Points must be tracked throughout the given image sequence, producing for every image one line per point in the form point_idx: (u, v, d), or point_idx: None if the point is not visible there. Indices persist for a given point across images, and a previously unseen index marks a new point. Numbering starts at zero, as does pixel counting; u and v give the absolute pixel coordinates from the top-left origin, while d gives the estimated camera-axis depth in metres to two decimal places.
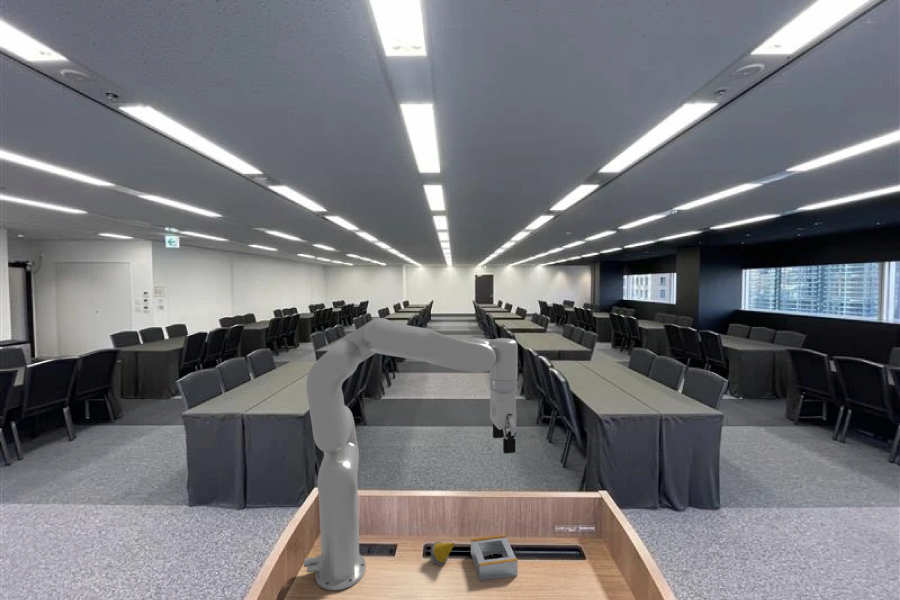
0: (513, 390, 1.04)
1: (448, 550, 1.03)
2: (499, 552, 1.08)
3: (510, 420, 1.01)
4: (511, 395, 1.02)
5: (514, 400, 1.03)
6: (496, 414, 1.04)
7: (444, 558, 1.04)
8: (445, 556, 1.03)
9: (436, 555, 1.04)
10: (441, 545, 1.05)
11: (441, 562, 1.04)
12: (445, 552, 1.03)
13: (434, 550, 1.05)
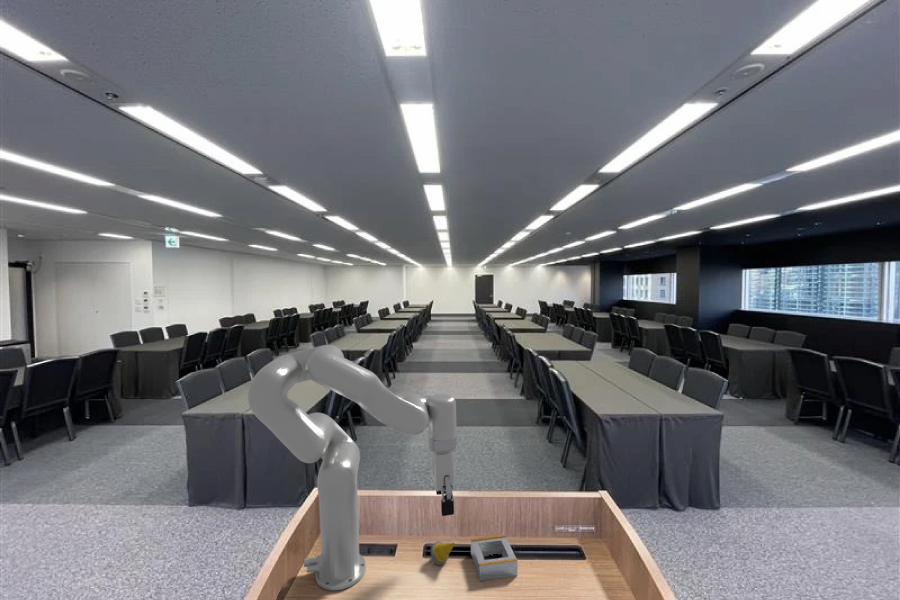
0: (451, 450, 1.01)
1: (448, 550, 1.03)
2: (499, 552, 1.08)
3: (446, 483, 0.98)
4: (448, 456, 1.00)
5: (452, 461, 1.00)
6: (434, 474, 1.01)
7: (444, 558, 1.04)
8: (445, 556, 1.03)
9: (436, 555, 1.04)
10: (441, 545, 1.05)
11: (441, 562, 1.04)
12: (445, 552, 1.03)
13: (434, 550, 1.05)
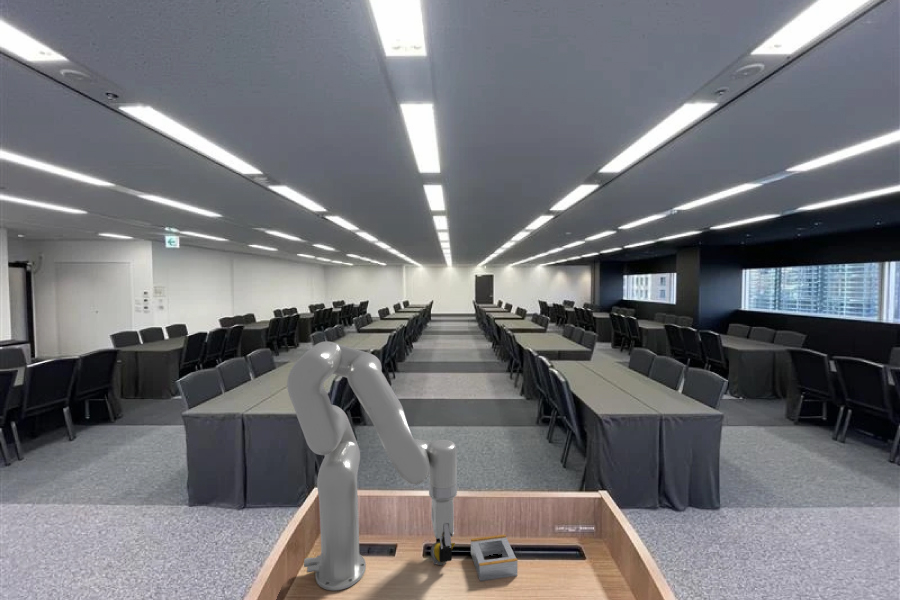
0: (451, 497, 1.02)
1: None
2: (499, 552, 1.08)
3: (446, 534, 0.99)
4: (448, 504, 1.00)
5: (451, 508, 1.01)
6: (434, 521, 1.02)
7: None
8: None
9: (436, 555, 1.03)
10: None
11: (441, 562, 1.03)
12: None
13: (434, 550, 1.04)
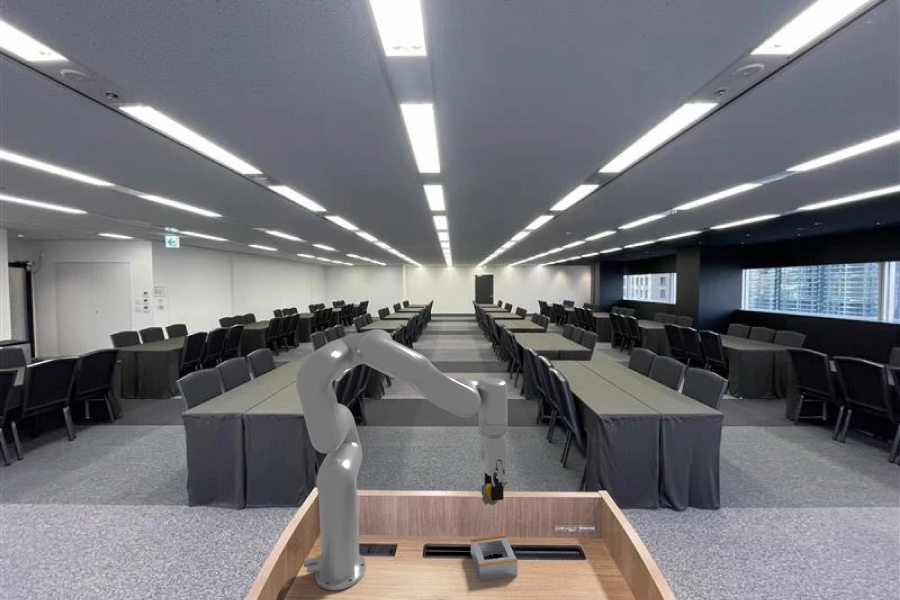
0: (503, 434, 0.99)
1: None
2: (499, 552, 1.08)
3: (499, 470, 0.97)
4: (500, 440, 0.98)
5: (504, 445, 0.98)
6: (485, 459, 1.00)
7: None
8: None
9: (488, 494, 1.01)
10: None
11: (493, 501, 1.01)
12: None
13: (485, 490, 1.02)
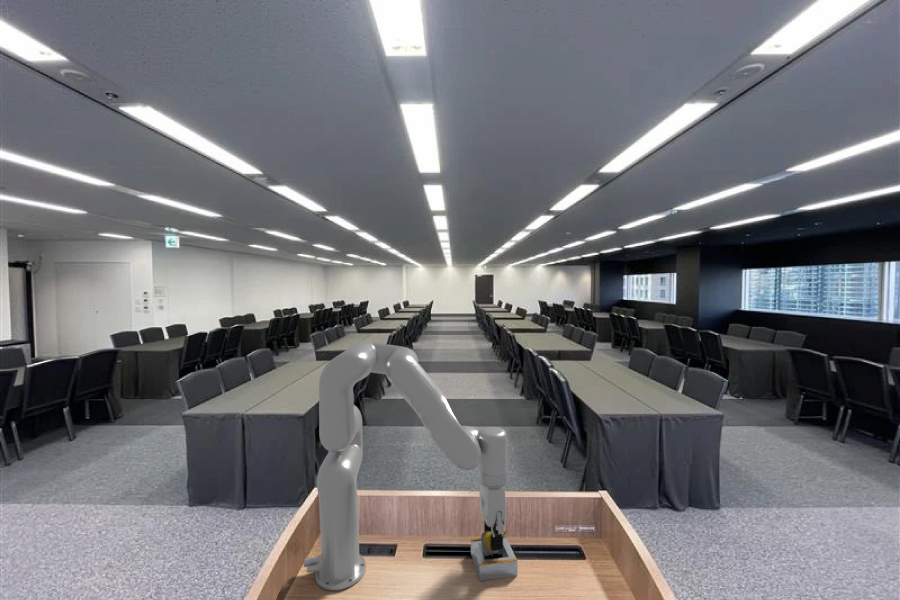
0: (503, 485, 1.00)
1: None
2: (499, 552, 1.08)
3: (499, 522, 0.98)
4: (500, 491, 0.99)
5: (504, 496, 0.99)
6: (485, 509, 1.00)
7: None
8: None
9: (487, 544, 1.02)
10: None
11: (492, 551, 1.02)
12: None
13: (485, 539, 1.03)
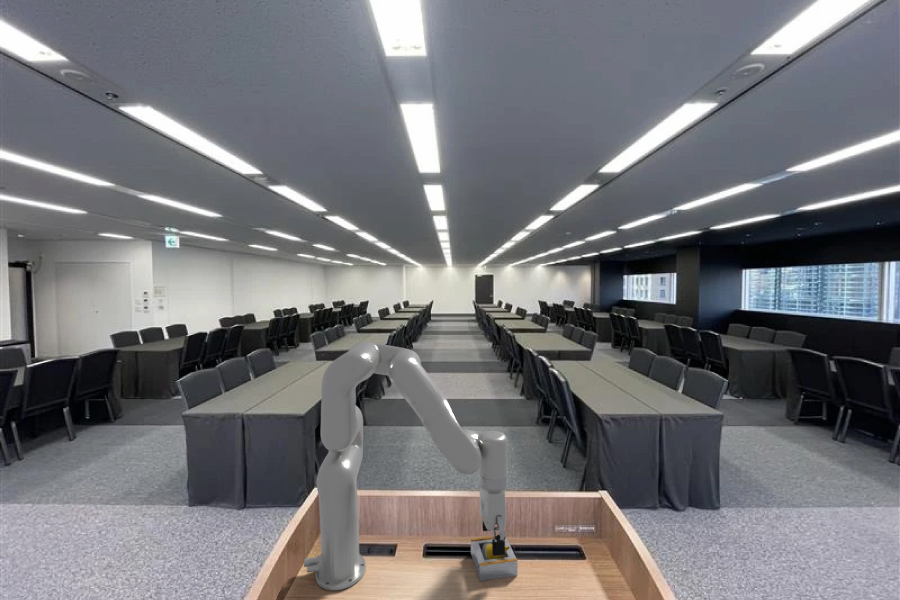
0: (503, 489, 1.00)
1: None
2: None
3: (499, 523, 0.97)
4: (500, 496, 0.99)
5: (504, 500, 0.99)
6: (485, 513, 1.01)
7: None
8: None
9: (488, 555, 1.02)
10: None
11: None
12: None
13: (486, 550, 1.03)
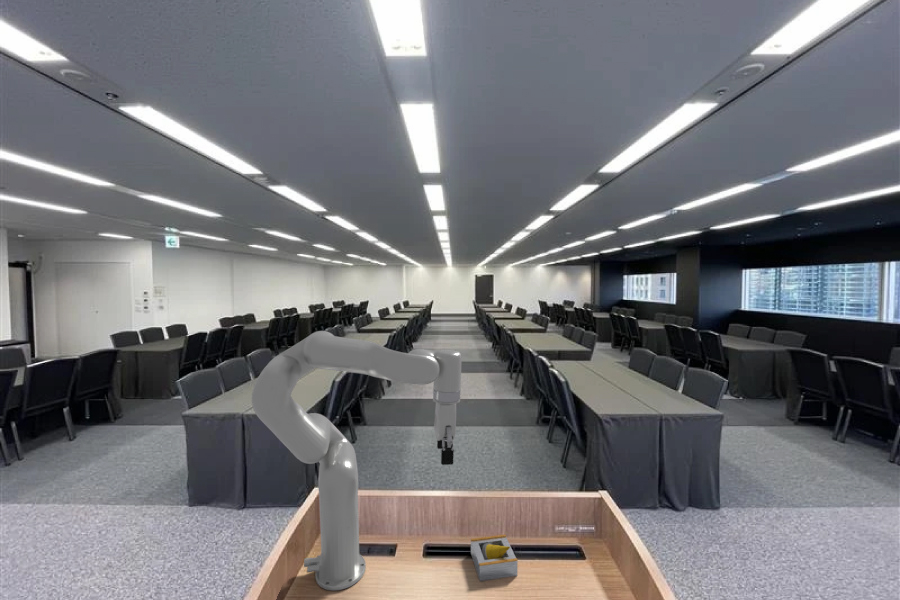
0: (454, 402, 1.04)
1: (502, 553, 1.02)
2: None
3: (448, 432, 1.01)
4: (451, 407, 1.03)
5: (454, 412, 1.03)
6: (436, 425, 1.05)
7: None
8: None
9: (488, 555, 1.02)
10: (494, 546, 1.03)
11: None
12: (498, 554, 1.02)
13: (486, 550, 1.03)
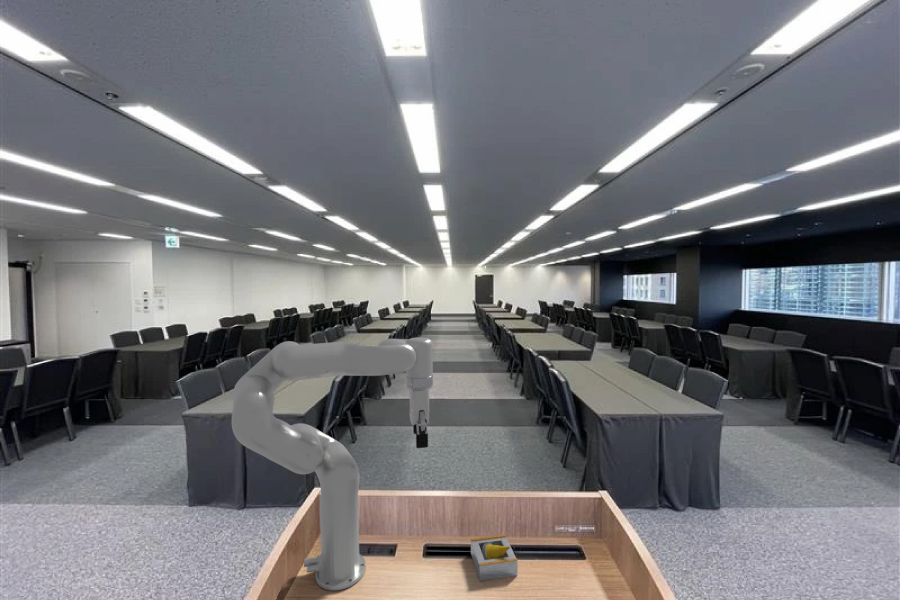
0: (426, 387, 1.08)
1: (502, 553, 1.02)
2: None
3: (421, 416, 1.05)
4: (423, 392, 1.07)
5: (427, 397, 1.07)
6: (410, 410, 1.08)
7: None
8: None
9: (488, 555, 1.02)
10: (494, 546, 1.03)
11: None
12: (498, 554, 1.02)
13: (486, 550, 1.03)
